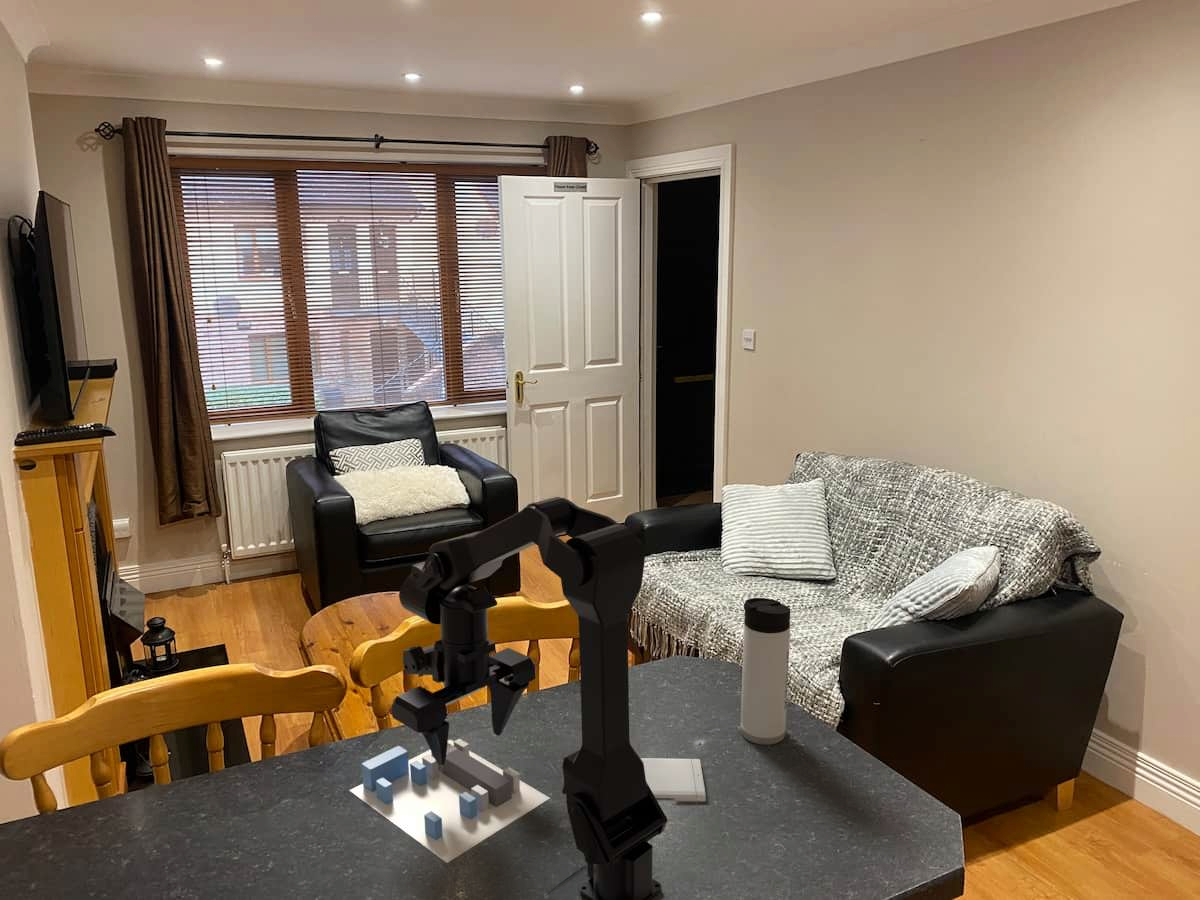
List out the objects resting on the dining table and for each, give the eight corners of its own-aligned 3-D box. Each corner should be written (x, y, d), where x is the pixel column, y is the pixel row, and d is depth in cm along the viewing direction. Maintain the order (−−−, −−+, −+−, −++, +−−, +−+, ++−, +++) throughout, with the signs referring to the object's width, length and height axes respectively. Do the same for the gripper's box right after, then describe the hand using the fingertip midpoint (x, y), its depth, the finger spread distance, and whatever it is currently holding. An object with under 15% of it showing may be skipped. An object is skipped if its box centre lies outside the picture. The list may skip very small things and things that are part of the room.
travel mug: (729, 728, 126) (733, 597, 121) (767, 718, 128) (773, 589, 124) (755, 750, 120) (760, 614, 116) (794, 739, 123) (800, 605, 118)
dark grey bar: (511, 798, 109) (511, 780, 109) (496, 807, 108) (495, 789, 107) (447, 758, 118) (446, 741, 117) (432, 766, 116) (431, 749, 116)
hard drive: (605, 793, 109) (705, 793, 109) (606, 756, 117) (699, 756, 117) (606, 804, 110) (705, 805, 109) (606, 767, 118) (699, 767, 117)
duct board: (550, 800, 109) (549, 775, 109) (447, 865, 98) (445, 837, 97) (450, 742, 123) (449, 718, 122) (349, 793, 111) (347, 767, 110)
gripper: (481, 596, 120) (485, 700, 124) (362, 640, 107) (370, 755, 110) (537, 618, 113) (539, 728, 116) (416, 668, 99) (423, 791, 103)
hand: (469, 748), depth 112 cm, fingers open, 9 cm apart
